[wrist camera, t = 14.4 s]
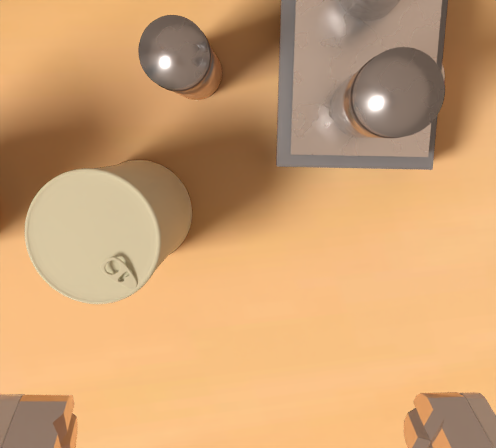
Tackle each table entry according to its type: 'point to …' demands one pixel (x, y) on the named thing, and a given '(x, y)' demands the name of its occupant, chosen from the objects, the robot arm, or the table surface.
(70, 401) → the robot arm
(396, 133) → the cylinder
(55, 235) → the can
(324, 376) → the table surface
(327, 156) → the scale body
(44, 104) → the table surface
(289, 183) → the table surface
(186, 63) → the cylinder
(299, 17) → the scale pan
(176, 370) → the table surface
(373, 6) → the cylinder
